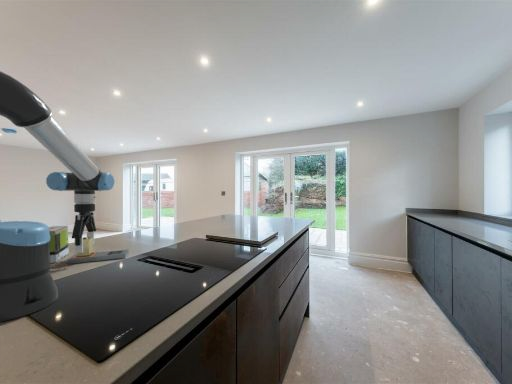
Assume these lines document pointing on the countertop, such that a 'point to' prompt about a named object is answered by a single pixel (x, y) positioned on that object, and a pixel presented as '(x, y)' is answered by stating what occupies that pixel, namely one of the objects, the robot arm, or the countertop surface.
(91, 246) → the brass block with knob
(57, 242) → the tea box
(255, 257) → the countertop surface
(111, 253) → the plate with square holes
